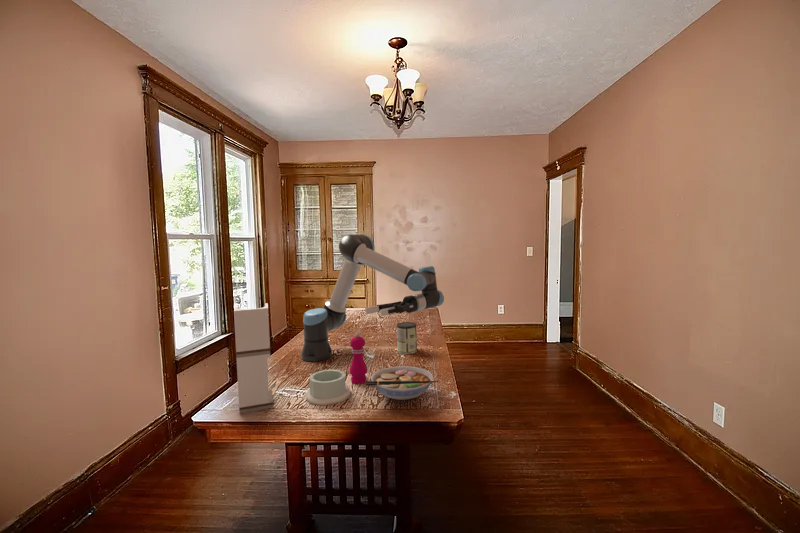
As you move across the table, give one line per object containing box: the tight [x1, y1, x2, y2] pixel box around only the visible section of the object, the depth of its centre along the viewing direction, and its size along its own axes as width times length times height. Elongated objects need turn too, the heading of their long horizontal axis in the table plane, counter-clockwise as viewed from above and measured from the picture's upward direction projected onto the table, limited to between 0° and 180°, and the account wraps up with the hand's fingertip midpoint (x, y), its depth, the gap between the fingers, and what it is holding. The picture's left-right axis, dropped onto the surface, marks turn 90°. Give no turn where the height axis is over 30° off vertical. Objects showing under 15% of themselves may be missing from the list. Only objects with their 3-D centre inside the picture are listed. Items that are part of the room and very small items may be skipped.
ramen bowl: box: [365, 365, 439, 401], centre depth 133 cm, size 25×23×8 cm
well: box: [305, 369, 351, 406], centre depth 135 cm, size 16×16×8 cm
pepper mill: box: [349, 332, 368, 385], centre depth 148 cm, size 7×7×20 cm
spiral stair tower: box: [233, 302, 274, 414], centre depth 129 cm, size 11×11×35 cm
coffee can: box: [396, 321, 418, 355], centre depth 188 cm, size 10×10×14 cm
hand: (372, 312), depth 155 cm, fingers open, 13 cm apart
